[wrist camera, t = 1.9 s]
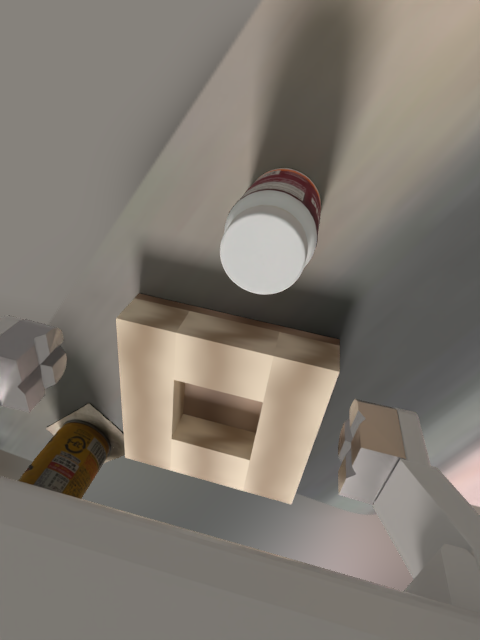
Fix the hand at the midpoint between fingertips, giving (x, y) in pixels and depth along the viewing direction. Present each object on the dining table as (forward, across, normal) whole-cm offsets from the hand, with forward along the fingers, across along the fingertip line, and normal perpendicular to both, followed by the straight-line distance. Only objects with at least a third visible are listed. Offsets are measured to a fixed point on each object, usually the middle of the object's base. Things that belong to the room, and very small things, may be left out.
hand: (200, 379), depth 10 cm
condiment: (+18, +16, +29) cm, 37 cm away
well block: (+17, +2, +17) cm, 24 cm away
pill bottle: (+17, 0, 0) cm, 17 cm away
